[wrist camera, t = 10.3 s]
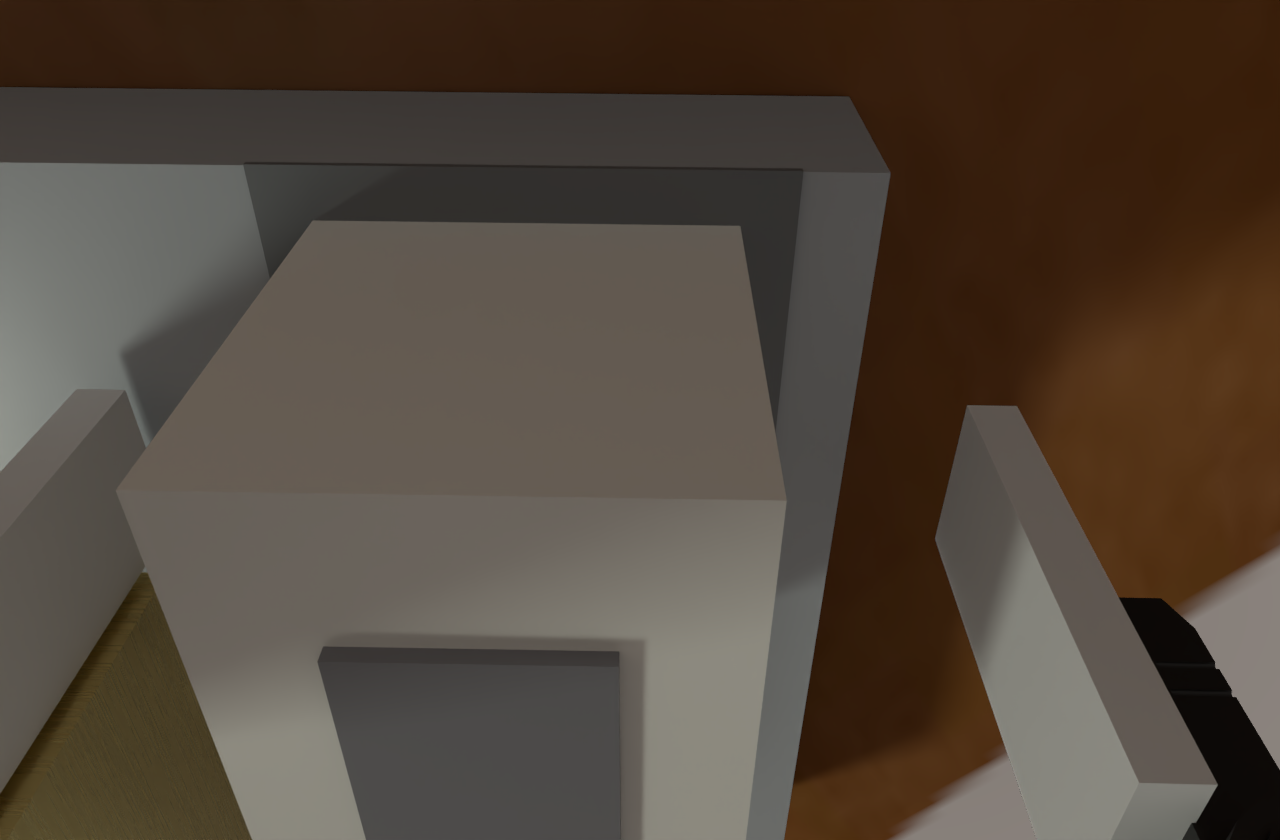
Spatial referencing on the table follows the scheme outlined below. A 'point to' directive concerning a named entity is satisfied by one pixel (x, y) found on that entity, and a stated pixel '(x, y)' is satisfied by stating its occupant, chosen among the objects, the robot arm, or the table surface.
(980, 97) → the table surface
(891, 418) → the table surface
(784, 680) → the housing
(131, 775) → the yellow rectangular block
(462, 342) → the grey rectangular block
